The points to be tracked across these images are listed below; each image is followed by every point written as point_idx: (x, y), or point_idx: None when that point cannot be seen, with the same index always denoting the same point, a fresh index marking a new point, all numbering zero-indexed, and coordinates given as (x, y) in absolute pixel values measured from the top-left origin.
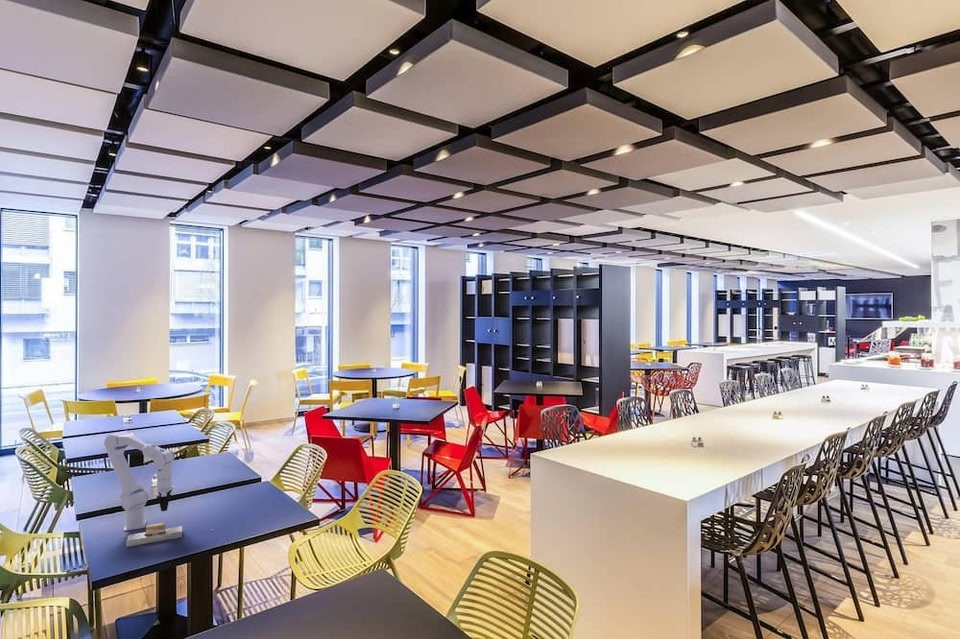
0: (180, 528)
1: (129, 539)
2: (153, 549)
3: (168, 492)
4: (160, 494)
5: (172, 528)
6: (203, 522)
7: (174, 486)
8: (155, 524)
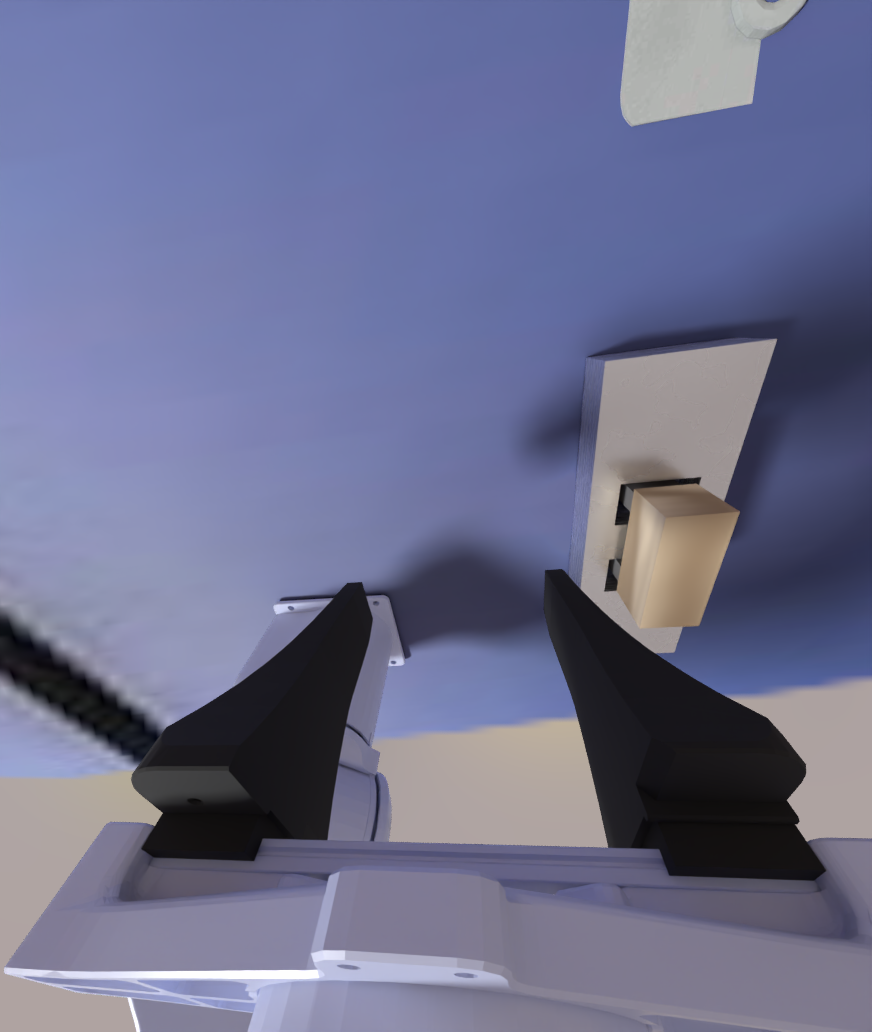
0: (672, 366)
1: (659, 644)
2: (836, 502)
3: (287, 735)
4: (329, 779)
5: (619, 438)
6: (412, 157)
7: (404, 963)
8: (666, 580)
